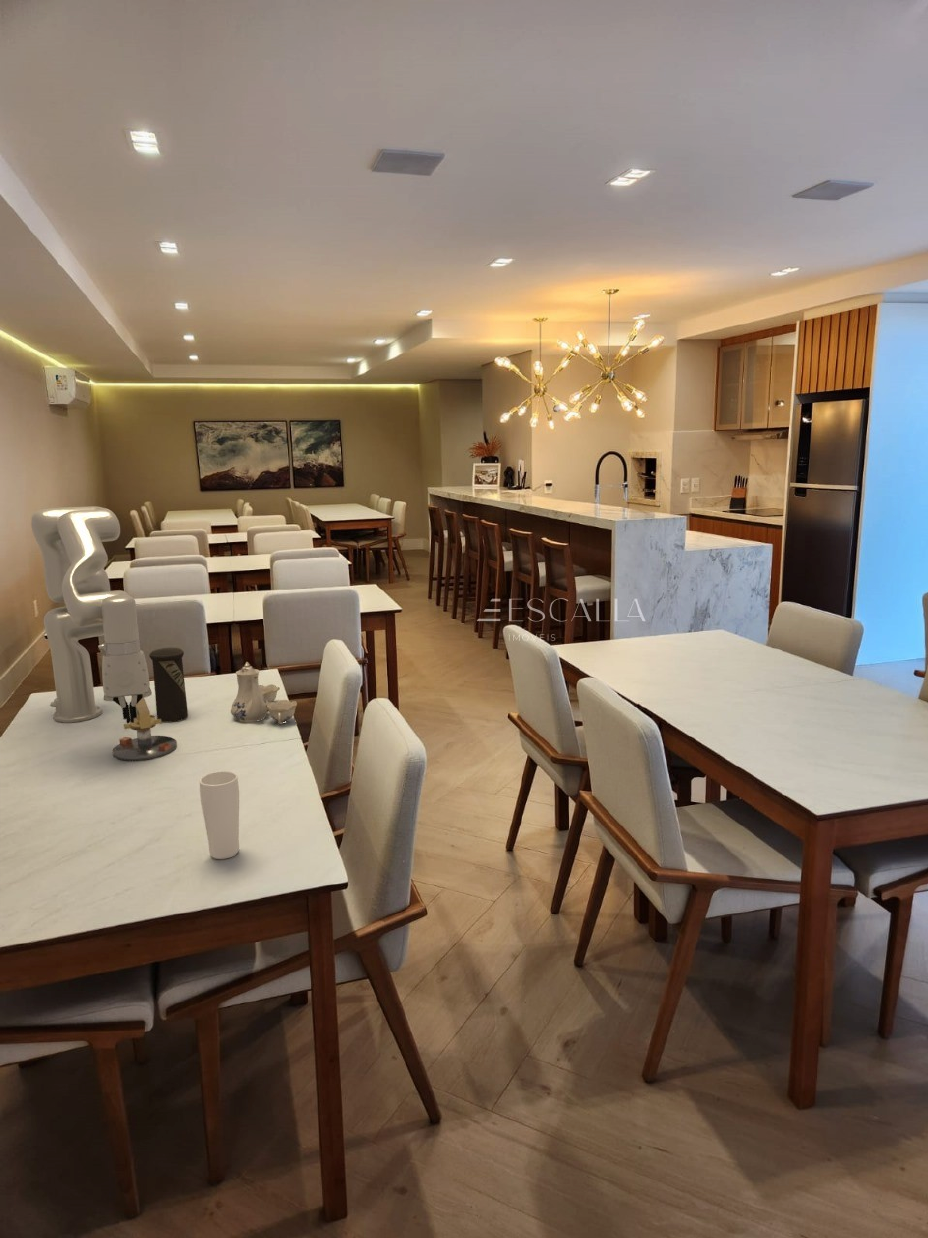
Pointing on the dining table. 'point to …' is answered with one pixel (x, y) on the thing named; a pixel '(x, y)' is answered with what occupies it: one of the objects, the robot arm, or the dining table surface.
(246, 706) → the chinaware
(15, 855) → the dining table surface
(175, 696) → the container
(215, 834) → the drinking glass
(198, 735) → the dining table surface
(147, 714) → the gold bar handle
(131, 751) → the post base
